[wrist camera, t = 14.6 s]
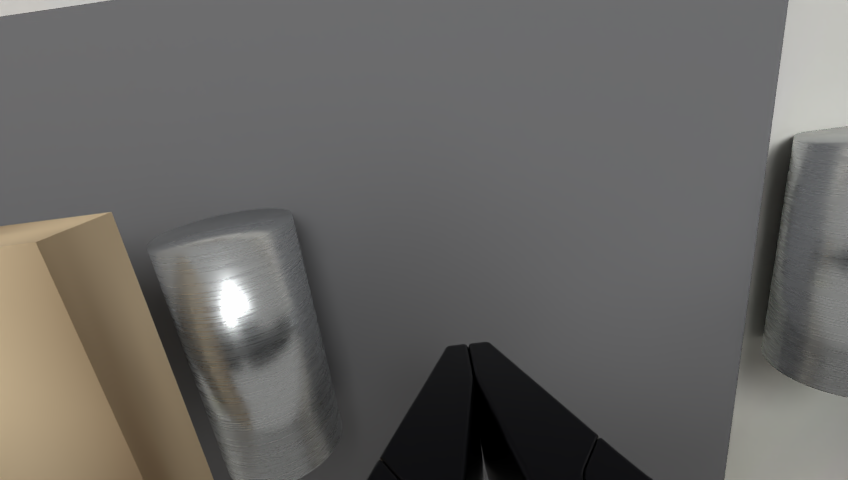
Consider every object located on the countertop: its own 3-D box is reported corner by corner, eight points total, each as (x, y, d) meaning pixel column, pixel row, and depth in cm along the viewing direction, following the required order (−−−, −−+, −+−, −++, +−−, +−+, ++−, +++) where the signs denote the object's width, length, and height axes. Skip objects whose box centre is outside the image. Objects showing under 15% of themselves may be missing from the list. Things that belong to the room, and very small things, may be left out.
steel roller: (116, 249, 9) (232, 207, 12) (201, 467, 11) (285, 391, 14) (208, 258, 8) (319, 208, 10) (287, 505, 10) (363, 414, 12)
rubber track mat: (786, -94, 9) (802, -101, 9) (716, 471, 15) (723, 481, 14) (-496, 94, 10) (-531, 94, 10) (-129, 559, 16) (-143, 570, 15)
